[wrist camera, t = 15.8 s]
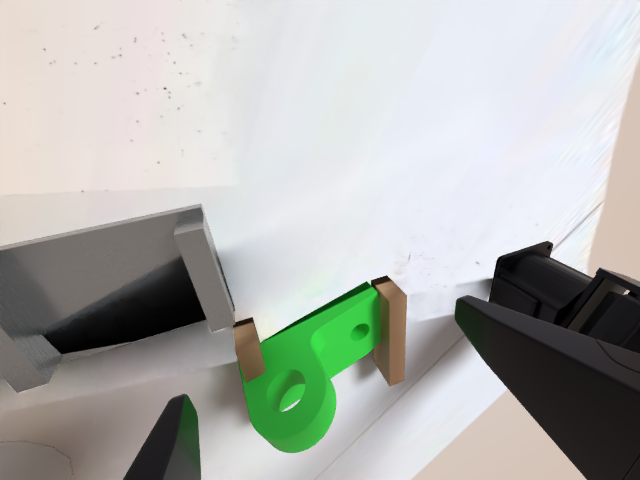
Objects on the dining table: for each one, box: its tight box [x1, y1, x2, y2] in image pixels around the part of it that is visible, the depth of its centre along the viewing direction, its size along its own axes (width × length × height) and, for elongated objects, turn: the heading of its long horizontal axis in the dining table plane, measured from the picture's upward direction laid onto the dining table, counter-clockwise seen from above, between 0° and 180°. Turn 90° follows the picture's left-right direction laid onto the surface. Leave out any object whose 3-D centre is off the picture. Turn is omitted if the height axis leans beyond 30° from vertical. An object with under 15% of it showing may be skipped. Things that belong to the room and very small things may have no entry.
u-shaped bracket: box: [0, 204, 236, 393], centre depth 17 cm, size 12×8×3 cm, turn 97°
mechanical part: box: [237, 281, 381, 453], centre depth 23 cm, size 12×6×8 cm, turn 112°
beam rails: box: [233, 276, 407, 386], centre depth 25 cm, size 13×10×3 cm
